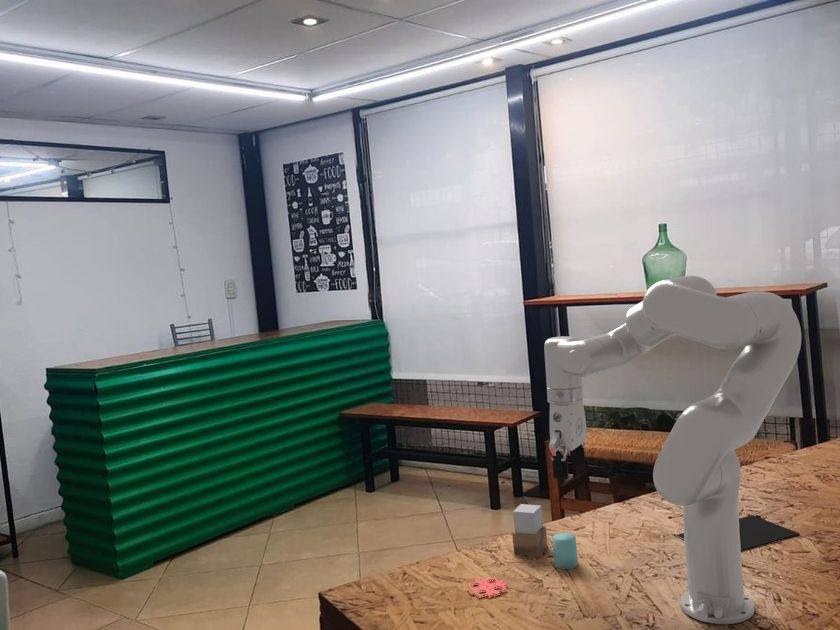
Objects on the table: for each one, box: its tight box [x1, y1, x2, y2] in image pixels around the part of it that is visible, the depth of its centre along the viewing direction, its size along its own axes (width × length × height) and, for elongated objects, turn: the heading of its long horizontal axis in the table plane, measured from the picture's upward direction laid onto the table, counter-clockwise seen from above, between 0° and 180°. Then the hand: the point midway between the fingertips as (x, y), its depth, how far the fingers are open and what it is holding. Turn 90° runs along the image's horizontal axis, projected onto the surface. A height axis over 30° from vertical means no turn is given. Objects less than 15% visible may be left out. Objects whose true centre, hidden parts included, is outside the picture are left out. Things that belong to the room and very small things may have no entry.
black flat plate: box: [673, 514, 801, 552], centre depth 164 cm, size 23×1×15 cm
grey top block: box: [512, 503, 544, 535], centre depth 167 cm, size 5×5×5 cm
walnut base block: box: [511, 525, 548, 558], centre depth 167 cm, size 6×6×5 cm
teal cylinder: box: [552, 532, 579, 570], centre depth 158 cm, size 5×5×6 cm
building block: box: [468, 577, 508, 597], centre depth 150 cm, size 1×8×8 cm
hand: (569, 471), depth 157 cm, fingers open, 9 cm apart
